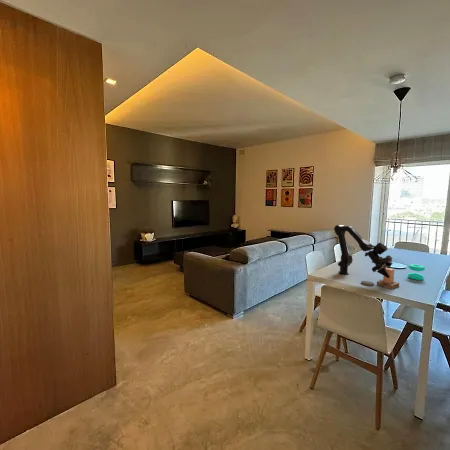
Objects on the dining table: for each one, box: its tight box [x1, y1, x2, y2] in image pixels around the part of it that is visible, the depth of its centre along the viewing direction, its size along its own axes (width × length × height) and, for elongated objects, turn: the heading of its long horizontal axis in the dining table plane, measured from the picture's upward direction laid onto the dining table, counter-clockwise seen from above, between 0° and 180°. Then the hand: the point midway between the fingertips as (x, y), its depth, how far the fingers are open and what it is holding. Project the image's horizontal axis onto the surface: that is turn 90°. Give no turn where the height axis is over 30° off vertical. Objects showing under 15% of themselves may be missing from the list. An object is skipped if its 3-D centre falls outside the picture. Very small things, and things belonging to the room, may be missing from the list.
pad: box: [360, 280, 375, 287], centre depth 184 cm, size 8×8×1 cm
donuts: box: [407, 263, 426, 281], centre depth 197 cm, size 10×10×10 cm
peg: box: [382, 267, 395, 284], centre depth 180 cm, size 5×5×12 cm
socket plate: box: [376, 279, 400, 290], centre depth 181 cm, size 10×10×2 cm
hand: (390, 277), depth 179 cm, fingers closed on peg, 5 cm apart
